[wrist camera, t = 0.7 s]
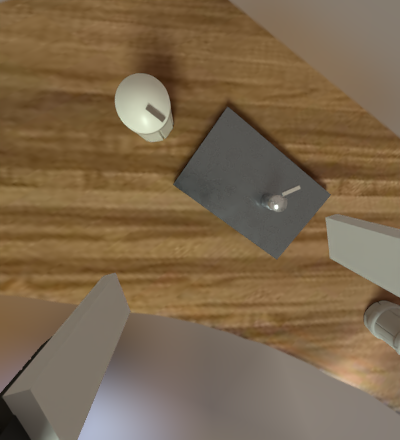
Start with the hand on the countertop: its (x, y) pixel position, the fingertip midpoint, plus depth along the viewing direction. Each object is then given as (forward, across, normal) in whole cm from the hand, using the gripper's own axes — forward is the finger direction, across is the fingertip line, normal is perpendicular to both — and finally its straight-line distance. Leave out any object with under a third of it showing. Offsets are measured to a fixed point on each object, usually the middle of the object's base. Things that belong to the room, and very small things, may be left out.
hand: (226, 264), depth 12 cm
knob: (+22, -4, +15) cm, 27 cm away
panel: (+22, +9, +1) cm, 24 cm away
